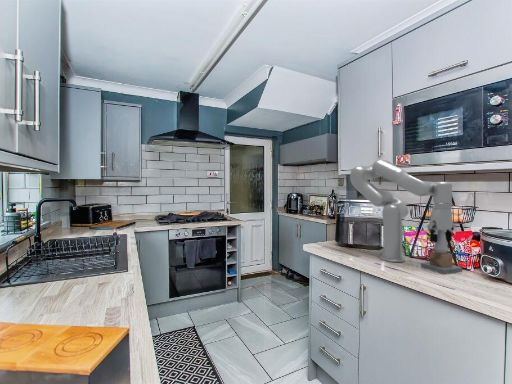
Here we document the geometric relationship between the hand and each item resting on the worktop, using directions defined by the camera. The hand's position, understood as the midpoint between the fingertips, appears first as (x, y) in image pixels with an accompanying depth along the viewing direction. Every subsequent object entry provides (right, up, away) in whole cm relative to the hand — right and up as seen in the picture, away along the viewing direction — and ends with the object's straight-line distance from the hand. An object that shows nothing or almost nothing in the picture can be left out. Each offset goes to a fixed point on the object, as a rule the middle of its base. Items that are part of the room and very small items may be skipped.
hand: (440, 241), depth 132 cm
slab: (0, -14, 0) cm, 14 cm away
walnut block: (0, -12, 0) cm, 12 cm away
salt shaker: (0, -6, 0) cm, 6 cm away
